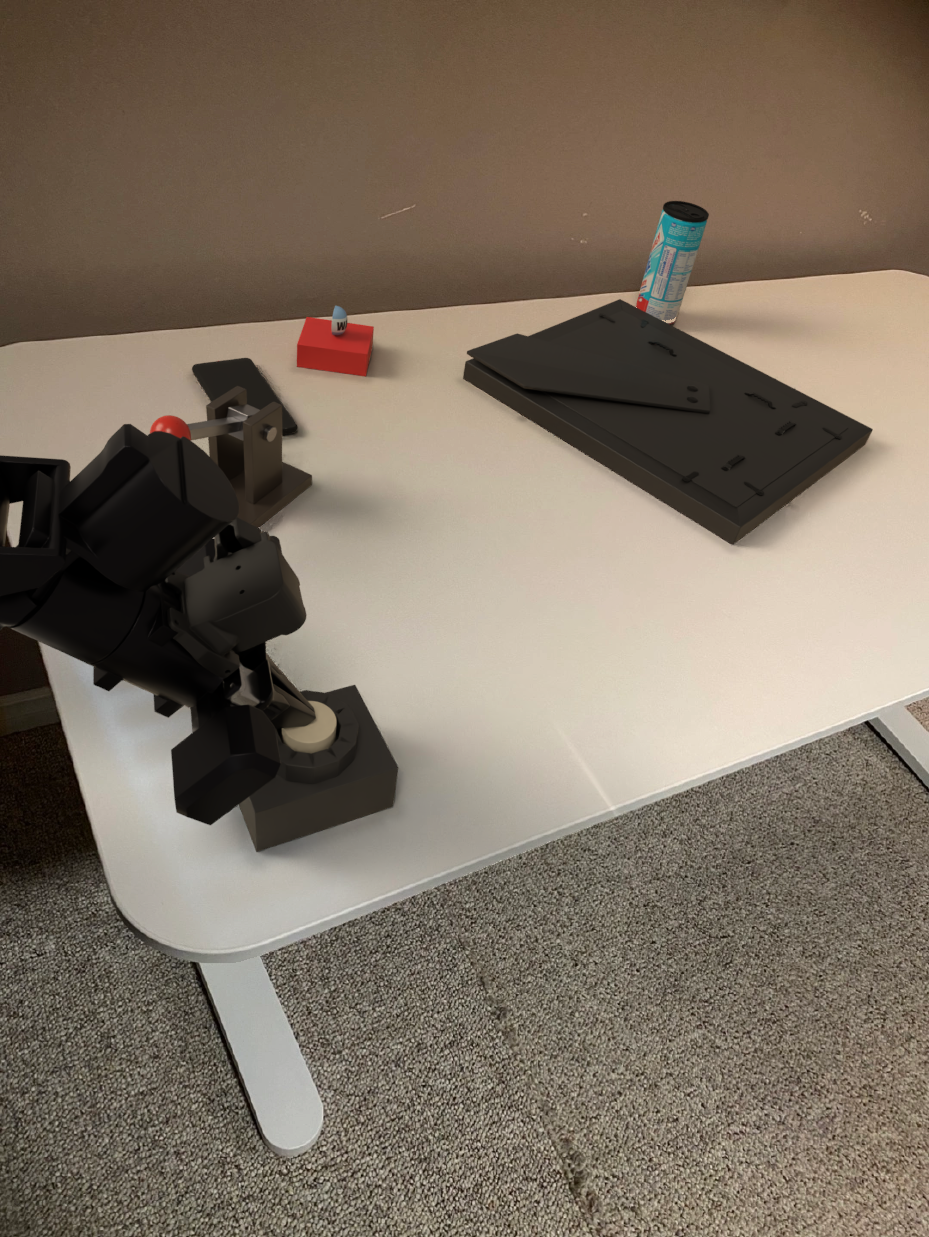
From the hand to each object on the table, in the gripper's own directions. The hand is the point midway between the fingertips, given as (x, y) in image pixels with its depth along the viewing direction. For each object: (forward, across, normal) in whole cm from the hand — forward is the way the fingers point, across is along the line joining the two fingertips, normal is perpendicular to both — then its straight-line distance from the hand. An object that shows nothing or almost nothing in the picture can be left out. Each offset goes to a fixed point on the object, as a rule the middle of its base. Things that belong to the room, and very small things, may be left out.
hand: (310, 717), depth 62 cm
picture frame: (+41, +46, -29) cm, 68 cm away
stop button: (+2, 0, +2) cm, 2 cm away
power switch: (-4, +31, +3) cm, 31 cm away
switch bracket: (+5, +34, +6) cm, 35 cm away
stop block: (+5, 0, +5) cm, 7 cm away
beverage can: (+47, +69, -35) cm, 90 cm away
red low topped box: (+14, +60, -3) cm, 62 cm away
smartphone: (+6, +50, +5) cm, 51 cm away
